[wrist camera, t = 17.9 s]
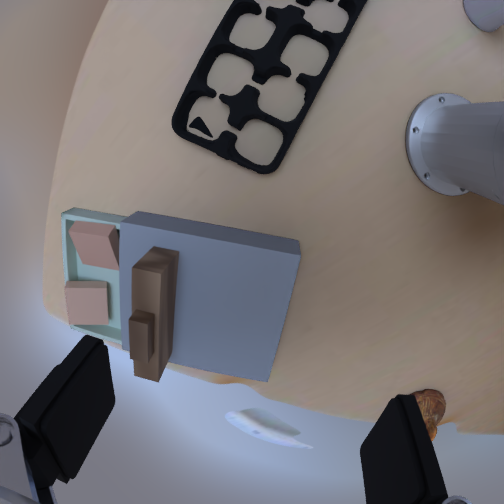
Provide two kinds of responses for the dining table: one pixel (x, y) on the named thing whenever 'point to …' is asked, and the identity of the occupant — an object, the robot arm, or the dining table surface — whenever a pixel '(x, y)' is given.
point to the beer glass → (485, 13)
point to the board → (216, 291)
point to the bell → (431, 409)
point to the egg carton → (258, 77)
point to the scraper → (153, 311)
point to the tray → (93, 271)
